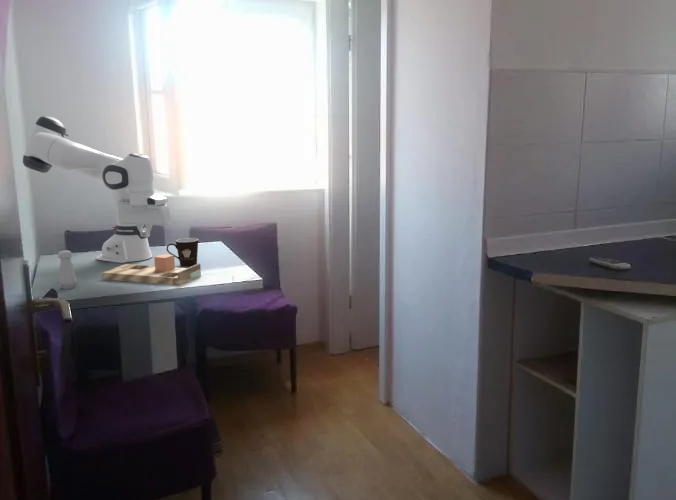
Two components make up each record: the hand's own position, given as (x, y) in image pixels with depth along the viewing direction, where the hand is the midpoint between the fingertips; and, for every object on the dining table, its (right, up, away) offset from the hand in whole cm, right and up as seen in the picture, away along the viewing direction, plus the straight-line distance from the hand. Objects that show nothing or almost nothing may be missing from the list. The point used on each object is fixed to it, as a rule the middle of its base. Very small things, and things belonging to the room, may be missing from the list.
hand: (145, 236), depth 232 cm
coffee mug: (+10, -11, +18) cm, 23 cm away
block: (+7, -12, 0) cm, 14 cm away
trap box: (+3, -15, -1) cm, 15 cm away
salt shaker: (-22, -18, -14) cm, 32 cm away
